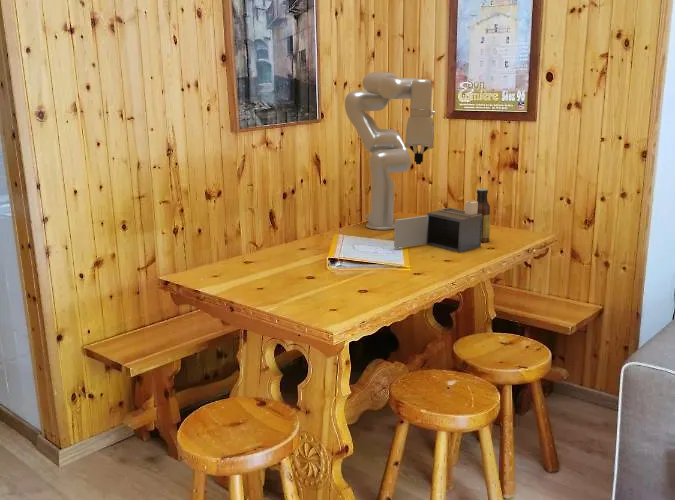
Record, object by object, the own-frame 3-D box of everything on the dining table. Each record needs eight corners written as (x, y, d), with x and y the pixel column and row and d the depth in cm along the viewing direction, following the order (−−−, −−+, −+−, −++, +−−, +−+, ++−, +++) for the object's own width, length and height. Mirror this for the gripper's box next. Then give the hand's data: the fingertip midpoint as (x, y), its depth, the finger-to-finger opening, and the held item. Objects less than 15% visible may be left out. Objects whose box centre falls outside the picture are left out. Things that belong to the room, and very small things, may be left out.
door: (424, 242, 266) (425, 214, 264) (427, 243, 265) (429, 215, 262) (392, 247, 259) (393, 218, 256) (395, 249, 257) (396, 219, 254)
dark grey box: (426, 244, 266) (427, 211, 263) (446, 239, 274) (448, 207, 271) (460, 252, 254) (462, 218, 251) (480, 247, 262) (482, 214, 259)
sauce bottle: (488, 239, 275) (491, 188, 270) (490, 243, 269) (493, 191, 263) (471, 238, 275) (474, 187, 270) (472, 242, 269) (475, 190, 264)
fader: (464, 214, 259) (465, 200, 258) (470, 212, 262) (471, 199, 260) (471, 215, 257) (472, 201, 256) (477, 214, 259) (478, 200, 258)
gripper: (441, 113, 262) (439, 163, 267) (401, 112, 265) (399, 161, 270) (440, 115, 255) (437, 166, 260) (398, 114, 258) (397, 164, 263)
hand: (418, 163), depth 265 cm, fingers closed
